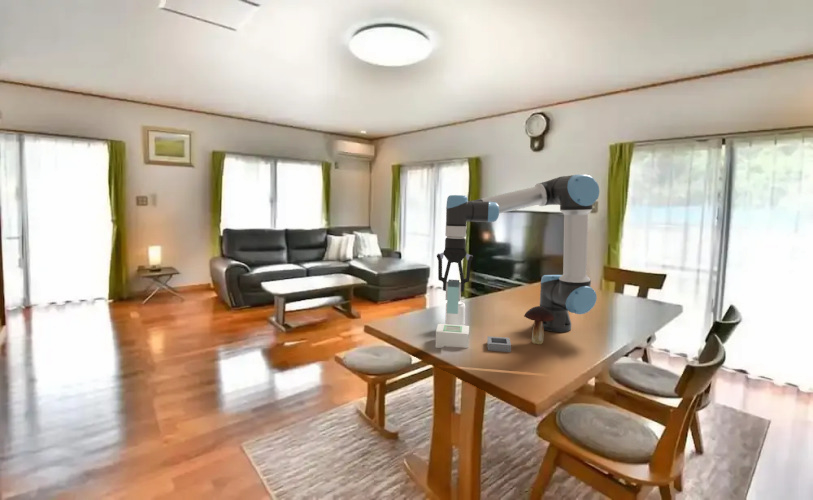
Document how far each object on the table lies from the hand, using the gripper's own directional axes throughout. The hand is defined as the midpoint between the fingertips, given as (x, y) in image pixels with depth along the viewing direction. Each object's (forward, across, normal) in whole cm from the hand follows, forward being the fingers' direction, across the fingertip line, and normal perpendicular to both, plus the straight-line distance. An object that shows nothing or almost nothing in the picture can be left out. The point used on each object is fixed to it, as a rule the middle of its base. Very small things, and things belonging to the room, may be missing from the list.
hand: (453, 299), depth 149 cm
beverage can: (+17, 0, -18) cm, 25 cm away
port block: (+17, 0, 0) cm, 17 cm away
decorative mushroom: (+17, -32, -6) cm, 37 cm away
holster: (+17, -17, +2) cm, 24 cm away
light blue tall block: (+5, 0, 0) cm, 5 cm away
